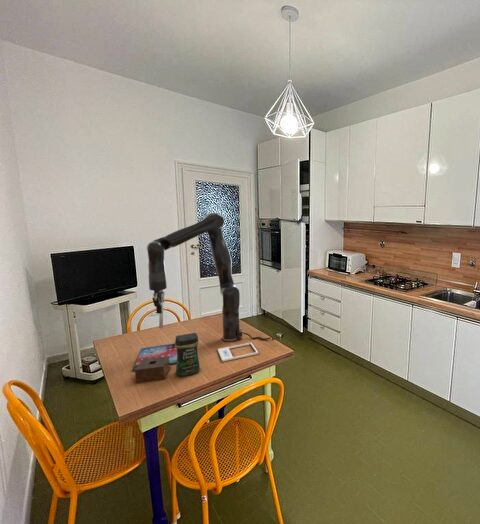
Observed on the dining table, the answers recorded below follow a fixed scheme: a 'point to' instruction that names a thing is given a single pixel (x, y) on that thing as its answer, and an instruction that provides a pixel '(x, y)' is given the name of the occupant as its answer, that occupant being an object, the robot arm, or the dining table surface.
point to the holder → (152, 369)
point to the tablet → (158, 353)
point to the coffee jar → (187, 354)
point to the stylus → (161, 319)
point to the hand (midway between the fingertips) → (159, 312)
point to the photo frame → (227, 355)
